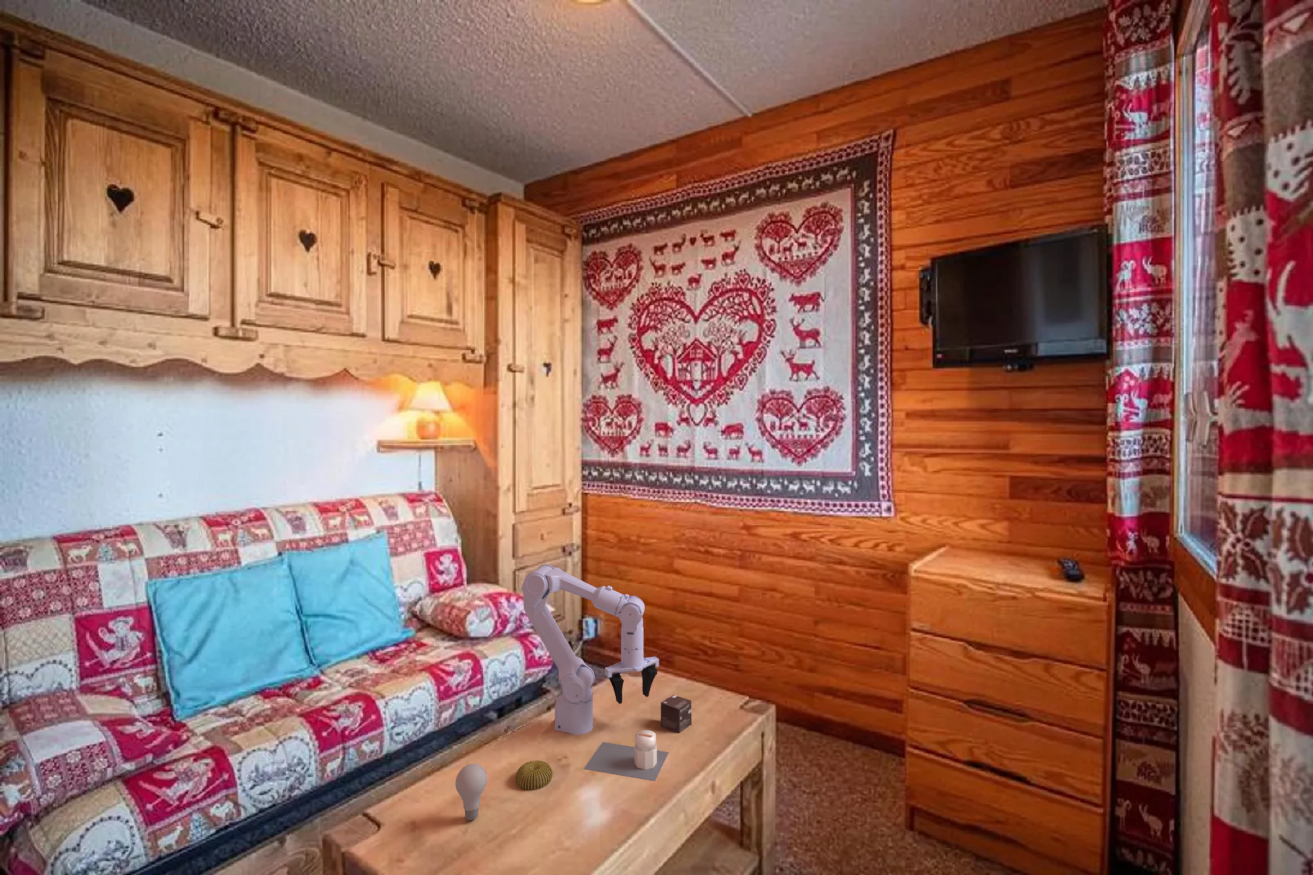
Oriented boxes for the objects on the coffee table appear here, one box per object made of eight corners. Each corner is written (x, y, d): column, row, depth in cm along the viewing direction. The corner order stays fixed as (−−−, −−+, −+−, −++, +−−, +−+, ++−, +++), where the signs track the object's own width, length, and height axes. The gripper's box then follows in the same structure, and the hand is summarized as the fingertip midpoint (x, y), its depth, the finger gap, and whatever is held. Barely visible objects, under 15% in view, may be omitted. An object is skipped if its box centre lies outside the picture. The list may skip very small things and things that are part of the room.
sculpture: (528, 782, 127) (508, 766, 133) (528, 800, 127) (508, 784, 133) (559, 767, 132) (539, 752, 138) (559, 784, 133) (539, 770, 138)
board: (583, 773, 137) (583, 768, 137) (602, 745, 148) (602, 742, 148) (655, 785, 132) (655, 781, 132) (668, 756, 144) (668, 752, 143)
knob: (650, 771, 136) (650, 741, 136) (631, 766, 138) (631, 737, 138) (659, 760, 140) (659, 731, 140) (640, 755, 142) (640, 727, 142)
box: (678, 737, 152) (678, 709, 152) (659, 730, 156) (659, 702, 156) (692, 727, 157) (692, 700, 157) (673, 721, 161) (673, 694, 160)
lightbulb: (476, 806, 125) (475, 754, 125) (493, 818, 121) (493, 764, 121) (449, 821, 120) (449, 767, 120) (467, 834, 116) (466, 778, 116)
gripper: (613, 656, 146) (613, 711, 146) (664, 646, 153) (664, 698, 153) (601, 647, 152) (601, 700, 152) (651, 637, 159) (651, 687, 159)
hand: (632, 698), depth 153 cm, fingers open, 7 cm apart
